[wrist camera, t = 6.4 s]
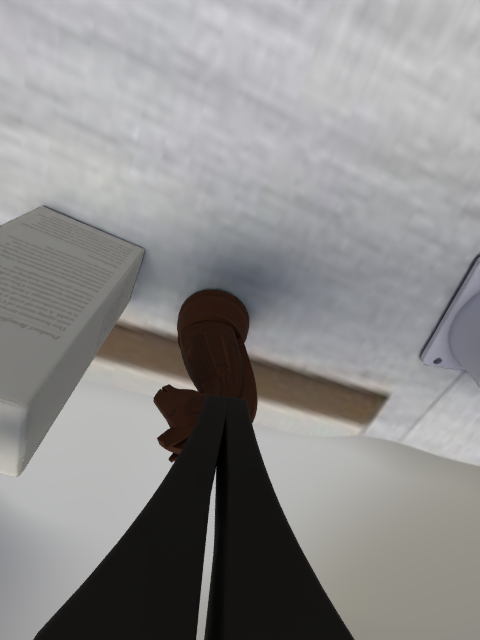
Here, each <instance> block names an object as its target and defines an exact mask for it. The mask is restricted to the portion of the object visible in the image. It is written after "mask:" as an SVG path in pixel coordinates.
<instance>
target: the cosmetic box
mask: <svg viewBox="0 0 480 640" xmlns="http://www.w3.org/2000/svg"><path fill="white" fill-rule="evenodd" d="M143 255H144V249H143V248H141V247H138V246H136V245H133V244H131V243H128V242H126V241H124V240H121V239H119V238H116V237H114V236H112V235H109V234H107V233H105V232H102V231H100V230H97V229H95V228H93V227H90V226H88V225H86V224H83V223H81V222H78V221H76V220H74V219H71V218H69V217H67V216H64V215H62V214H59V213H57V212H55V211H52V210H50V209H48V208H46V207H42V206H41V207H39V208H37V209H35V210H32V211H30V212H28V213H26V214H24V215H22V216H20V217H17V218H15V219H14V220H11V221H9V222H7V223H5V224H3V225H1V226H0V474H4V475H7V476H11V477H18V476H19V475H20V474H21V473H22V472H23V471H24V469H25V468H26V466H27V464H28V463H29V461H30V459H31V458H32V456H33V455H34V453H35V452H36V450H37V448H38V447H39V445H40V444H41V442H42V440H43V439H44V437H45V435H46V433H47V432H48V430H49V429H50V427H51V426H52V424H53V422H54V421H55V419H56V418H57V416H58V415H59V413H60V411H61V410H62V408H63V407H64V405H65V403H66V402H67V400H68V399H69V397H70V395H71V394H72V392H73V391H74V389H75V387H76V386H77V384H78V383H79V381H80V379H81V378H82V376H83V374H84V373H85V371H86V370H87V368H88V367H89V365H90V363H91V362H92V360H93V359H94V357H95V355H96V354H97V352H98V351H99V349H100V348H101V346H102V344H103V343H104V341H105V340H106V338H107V336H108V335H109V333H110V332H111V330H112V328H113V327H114V325H115V324H116V322H117V320H118V319H119V317H120V316H121V314H122V313H123V311H124V309H125V308H126V306H127V305H128V302H129V300H130V296H131V293H132V290H133V287H134V284H135V281H136V277H137V274H138V271H139V268H140V265H141V262H142V258H143Z"/></svg>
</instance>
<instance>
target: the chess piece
mask: <svg viewBox="0 0 480 640" xmlns="http://www.w3.org/2000/svg"><path fill="white" fill-rule="evenodd" d="M248 329H249V316H248V312H247V310H246V308H245V306H244V305H243V303H242V302H241V301H240V300H239V299H238V298H236V297H235V296H233V295H232V294H230V293H227V292H225V291H221V290H211V289H210V290H203V291H200V292H197V293H195V294H194V295H192V296H190V297H189V298H188V299H187V300H186V301H185V302H184V304H183V305H182V307H181V310H180V313H179V317H178V323H177V330H178V344H179V347H180V349H181V353H182V358H183V361H184V364H185V367H186V369H187V372H188V374H189V376H190V378H191V380H192V382H193V383H194V385H195V387H196V388H197V390H198V391H199V392H198V391H195V390H189V389H177V388H174V387H172V386H171V385H166V386H164V387H162V390H161V389H160V390H159V391H158V392H157V394H156V395H155V397H154V403H155V405H156V406H157V407H158V409H159V410H160V412H161V413H162V414H163V416H164V417H165V419H166V420H167V422H168V424H169V426H170V429H168V430H167V431H165V432H164V433H163V434H162V435H160V436H159V437H158V438H157V439H158V442H159V444H160V445H161V446H162V447H164V448H165V449H167V450H168V451H171V452H173V454H172V455H171V456H170V458H169V461H170V462H173V461H175V460H176V459H177V457H178V456H179V454H180V452H181V451H182V449H183V447H184V445H185V443H186V441H187V439H188V438H189V436H190V434H191V432H192V430H193V428H194V426H195V424H196V421H197V419H198V417H199V415H200V412H201V410H202V407H203V404H204V400H205V397H206V396H207V395H209V394H211V395H219V396H226V397H233V398H241V399H246V400H247V401H248V406H249V412H250V417H251V422H252V423H253V420H254V418H255V415H256V411H257V390H256V383H255V378H254V374H253V370H252V367H251V364H250V361H249V357H248V354H247V351H246V347H245V344H244V342H245V341H246V338H247V334H248Z"/></svg>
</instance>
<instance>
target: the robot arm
mask: <svg viewBox="0 0 480 640" xmlns="http://www.w3.org/2000/svg"><path fill="white" fill-rule="evenodd" d="M437 358H438V359H437ZM435 359H437V360H435ZM421 361H422V363H423V364H424V365H428V366H436V367H443V368H450V369H457V370H464V371H467V372H468V373H469V374H470V376H471V377H472V378H473V379H474V381H475V382H476V383H477V384H478V386H479V387H480V257H479V258H478V259H477V260H476V262H475V264H474V266H473V267H472V269H471V271H470V273H469V274H468V276H467V278H466V279H465V281H464V283H463V285H462V286H461V288H460V290H459V291H458V293H457V295H456V297H455V298H454V300H453V302H452V304H451V305H450V307H449V309H448V310H447V312H446V314H445V316H444V317H443V319H442V321H441V322H440V324H439V326H438V328H437V329H436V331H435V333H434V335H433V336H432V338H431V340H430V341H429V343H428V345H427V347H426V348H425V350H424V352H423V354H422V355H421ZM215 471H216V500H215V535H214V555H213V563H212V572H211V582H210V591H209V601H208V610H207V619H206V628H205V638H204V640H354V638H353V637H352V635H351V634H350V632H349V630H348V629H347V627H346V626H345V624H344V622H343V621H342V619H341V618H340V616H339V614H338V613H337V611H336V609H335V608H334V606H333V604H332V603H331V601H330V599H329V598H328V596H327V594H326V593H325V591H324V589H323V588H322V586H321V584H320V582H319V580H318V578H317V577H316V575H315V573H314V572H313V569H312V568H311V566H310V564H309V562H308V560H307V559H306V557H305V555H304V553H303V551H302V549H301V548H300V546H299V544H298V542H297V540H296V537H295V536H294V533H293V531H292V529H291V528H290V525H289V523H288V521H287V519H286V517H285V515H284V513H283V510H282V508H281V506H280V504H279V501H278V499H277V496H276V494H275V492H274V489H273V486H272V484H271V481H270V479H269V477H268V474H267V471H266V468H265V465H264V462H263V459H262V457H261V453H260V450H259V447H258V444H257V441H256V437H255V434H254V430H253V426H252V422H251V417H250V412H249V406H248V401H247V400H246V399H241V398H233V397H226V396H219V395H211V394H209V395H207V396H206V397H205V400H204V404H203V407H202V410H201V412H200V415H199V417H198V419H197V421H196V424H195V426H194V428H193V430H192V432H191V434H190V436H189V438H188V439H187V441H186V443H185V445H184V447H183V449H182V451H181V452H180V454H179V456H178V457H177V459H176V461H175V462H174V464H173V466H172V467H171V469H170V471H169V472H168V474H167V475H166V477H165V478H164V480H163V482H162V483H161V485H160V486H159V488H158V489H157V491H156V492H155V493H154V495H153V496H152V498H151V499H150V500H149V502H148V503H147V505H146V506H145V507H144V509H143V510H142V512H141V513H140V514H139V515H138V517H137V518H136V519H135V521H134V522H133V523H132V525H131V526H130V527H129V529H128V530H127V531H126V533H125V534H124V535H123V536H122V538H121V539H120V540H119V541H118V543H117V544H116V545H115V546H114V547H113V549H112V550H111V551H110V552H109V553H108V555H107V556H106V557H105V558H104V559H103V561H102V562H101V563H100V564H99V565H98V566H97V568H96V569H95V570H94V572H92V574H91V575H90V576H89V577H88V578H87V580H86V581H85V582H84V583H83V584H82V585H81V586H80V588H79V589H78V590H77V591H76V592H75V593H74V594H73V595H72V596H71V597H70V598H69V600H67V602H66V603H65V604H64V605H63V606H62V607H61V608H60V609H59V610H58V611H57V613H55V615H54V616H53V617H52V618H51V619H50V620H49V621H48V622H47V623H46V624H45V626H44V627H43V628H42V629H41V630H40V631H39V632H38V633H37V635H36V636H35V638H34V640H196V635H197V624H198V613H199V603H200V593H201V583H202V573H203V563H204V553H205V543H206V534H207V524H208V513H209V505H210V496H211V490H212V485H213V480H214V475H215Z"/></svg>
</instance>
